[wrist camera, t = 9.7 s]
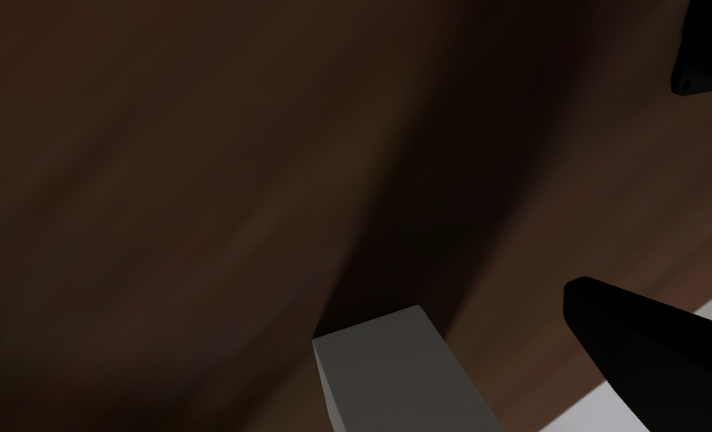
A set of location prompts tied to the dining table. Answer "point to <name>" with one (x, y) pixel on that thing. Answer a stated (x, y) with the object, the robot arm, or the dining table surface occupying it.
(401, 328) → the milk
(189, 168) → the dining table surface
